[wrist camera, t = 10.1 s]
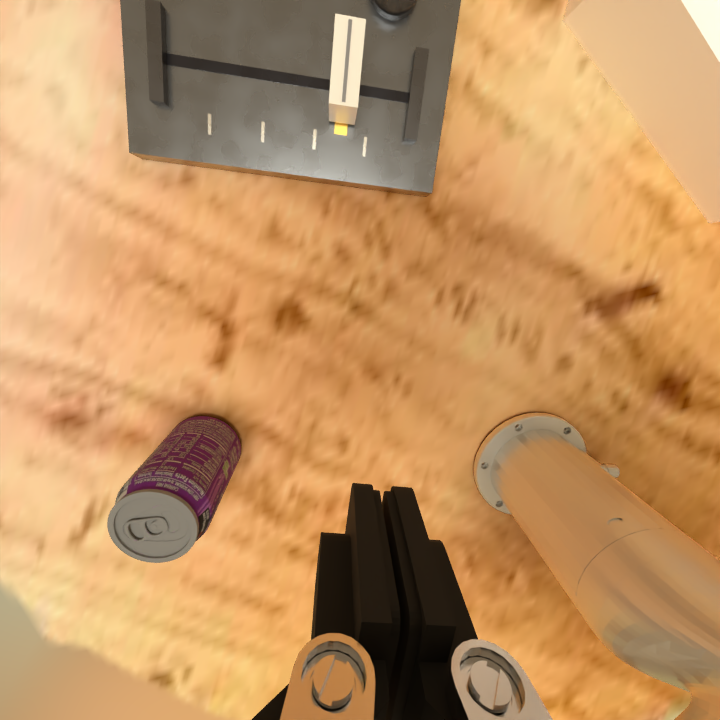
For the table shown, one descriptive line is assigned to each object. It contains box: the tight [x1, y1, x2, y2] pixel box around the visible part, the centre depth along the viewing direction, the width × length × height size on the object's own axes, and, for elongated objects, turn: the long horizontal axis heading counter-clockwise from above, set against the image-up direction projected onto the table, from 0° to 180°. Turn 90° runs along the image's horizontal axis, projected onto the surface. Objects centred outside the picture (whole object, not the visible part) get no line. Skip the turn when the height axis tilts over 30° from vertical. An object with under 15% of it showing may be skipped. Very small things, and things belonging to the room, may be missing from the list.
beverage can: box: [108, 416, 241, 563], centre depth 32 cm, size 7×7×12 cm
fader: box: [329, 13, 366, 125], centre depth 26 cm, size 2×5×4 cm, turn 174°
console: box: [120, 0, 461, 197], centre depth 27 cm, size 24×16×3 cm, turn 84°
